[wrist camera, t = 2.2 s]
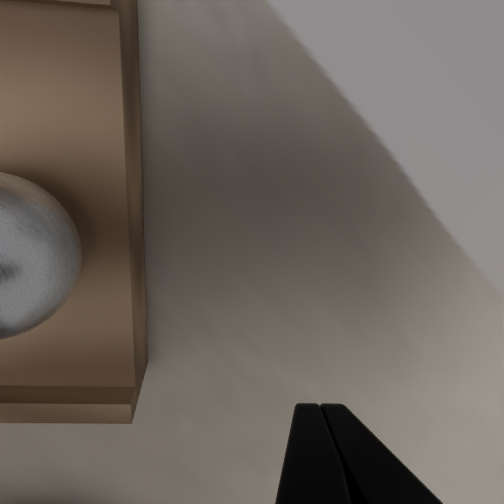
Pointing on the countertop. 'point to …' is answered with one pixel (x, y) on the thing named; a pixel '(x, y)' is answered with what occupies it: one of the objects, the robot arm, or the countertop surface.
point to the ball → (34, 255)
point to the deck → (78, 204)
